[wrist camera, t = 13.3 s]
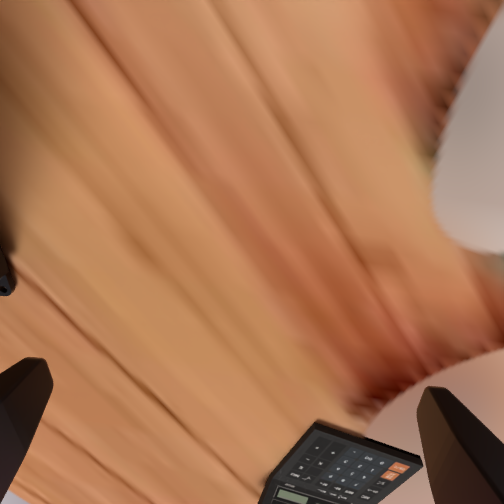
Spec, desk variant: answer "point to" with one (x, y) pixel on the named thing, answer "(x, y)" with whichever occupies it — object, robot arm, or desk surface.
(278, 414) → the desk surface
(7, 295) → the robot arm
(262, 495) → the calculator
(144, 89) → the desk surface
